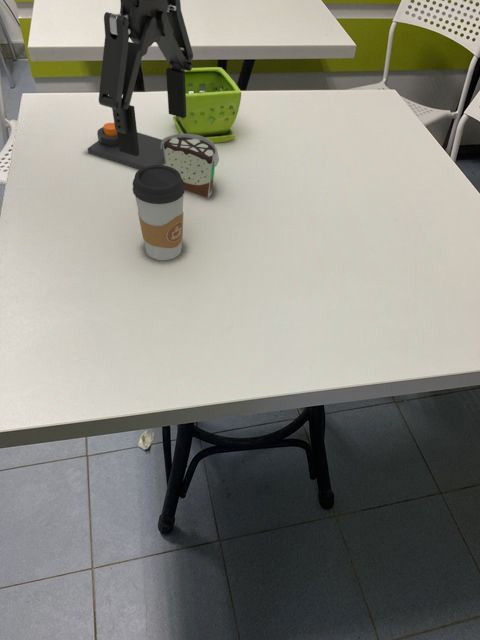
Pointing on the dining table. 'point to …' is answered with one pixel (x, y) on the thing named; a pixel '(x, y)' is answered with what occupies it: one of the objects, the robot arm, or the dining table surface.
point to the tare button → (110, 129)
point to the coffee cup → (160, 210)
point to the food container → (192, 161)
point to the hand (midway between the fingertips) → (155, 133)
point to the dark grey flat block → (147, 154)
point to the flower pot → (210, 104)
